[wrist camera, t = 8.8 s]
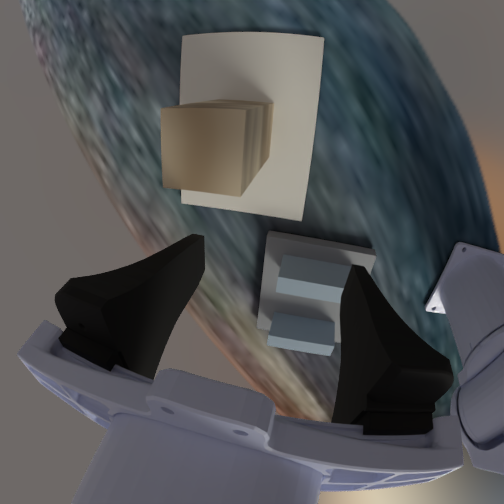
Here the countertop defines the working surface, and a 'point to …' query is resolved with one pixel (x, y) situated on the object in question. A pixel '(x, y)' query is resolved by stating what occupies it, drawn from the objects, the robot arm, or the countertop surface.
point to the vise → (306, 290)
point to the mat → (260, 90)
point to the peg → (215, 145)
